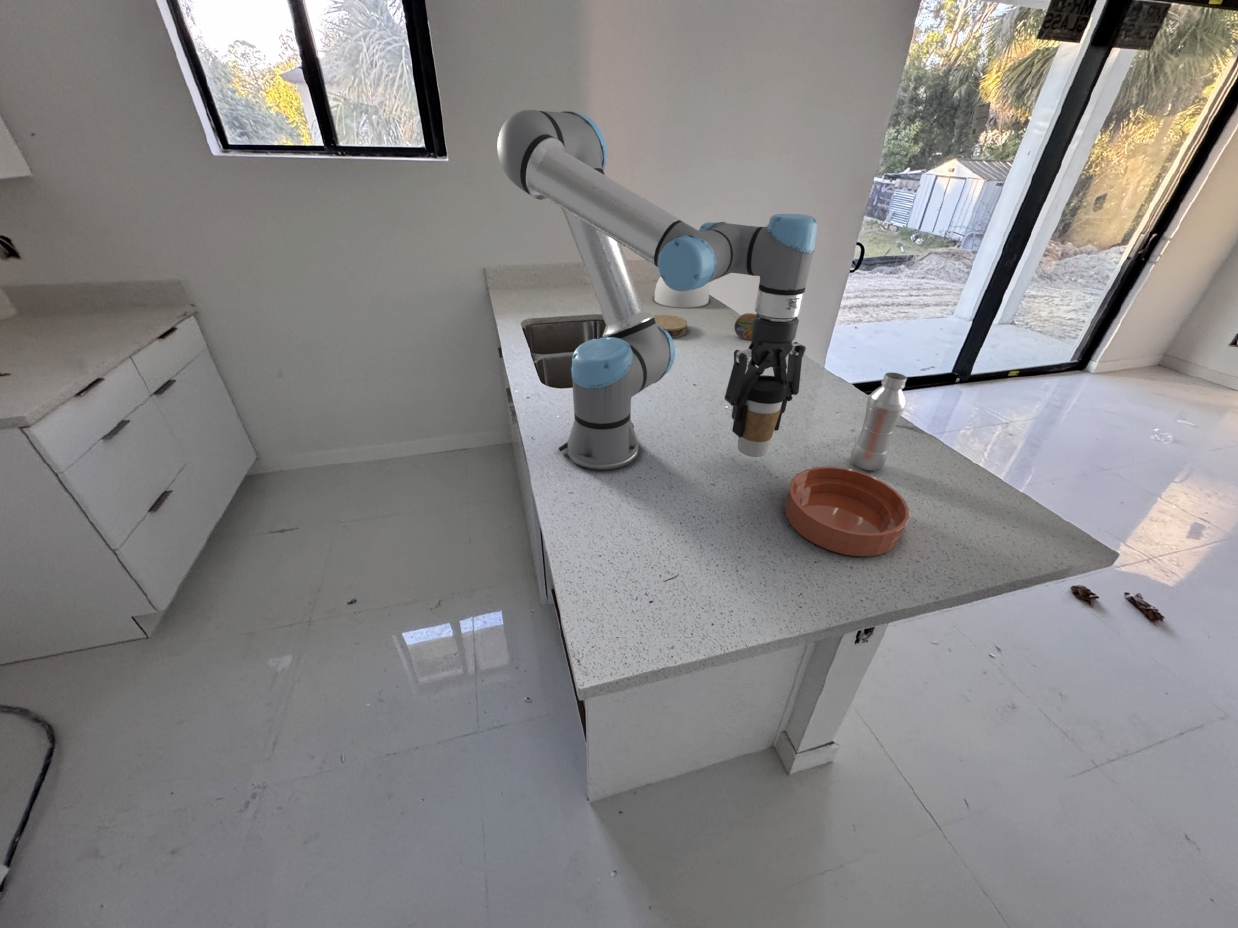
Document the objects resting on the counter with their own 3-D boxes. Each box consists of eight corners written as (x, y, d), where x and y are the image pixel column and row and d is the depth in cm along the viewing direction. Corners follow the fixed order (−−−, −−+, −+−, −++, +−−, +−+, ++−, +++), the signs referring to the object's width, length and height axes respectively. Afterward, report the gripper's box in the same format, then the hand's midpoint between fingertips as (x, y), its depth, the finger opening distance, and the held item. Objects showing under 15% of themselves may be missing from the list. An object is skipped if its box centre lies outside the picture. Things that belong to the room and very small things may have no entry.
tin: (732, 337, 166) (736, 312, 161) (734, 334, 168) (738, 310, 164) (777, 343, 161) (782, 318, 156) (779, 340, 164) (784, 315, 159)
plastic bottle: (880, 478, 98) (914, 386, 86) (844, 467, 100) (873, 378, 89) (884, 463, 102) (918, 374, 91) (850, 453, 105) (879, 366, 94)
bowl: (832, 570, 77) (840, 547, 74) (763, 499, 92) (768, 477, 89) (925, 542, 82) (936, 520, 79) (845, 479, 97) (852, 459, 94)
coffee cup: (774, 462, 95) (790, 392, 86) (730, 457, 96) (742, 388, 88) (772, 441, 102) (786, 374, 93) (731, 436, 103) (742, 370, 95)
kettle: (656, 290, 217) (659, 235, 204) (708, 292, 214) (714, 236, 202) (652, 306, 196) (654, 245, 183) (708, 308, 194) (715, 247, 181)
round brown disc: (681, 340, 163) (681, 331, 162) (635, 334, 168) (636, 326, 166) (690, 325, 176) (691, 317, 174) (648, 321, 180) (648, 313, 178)
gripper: (736, 328, 78) (719, 449, 91) (839, 315, 84) (810, 431, 96) (713, 314, 84) (700, 430, 96) (811, 304, 89) (787, 414, 102)
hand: (755, 430), depth 96 cm, fingers closed on coffee cup, 7 cm apart
